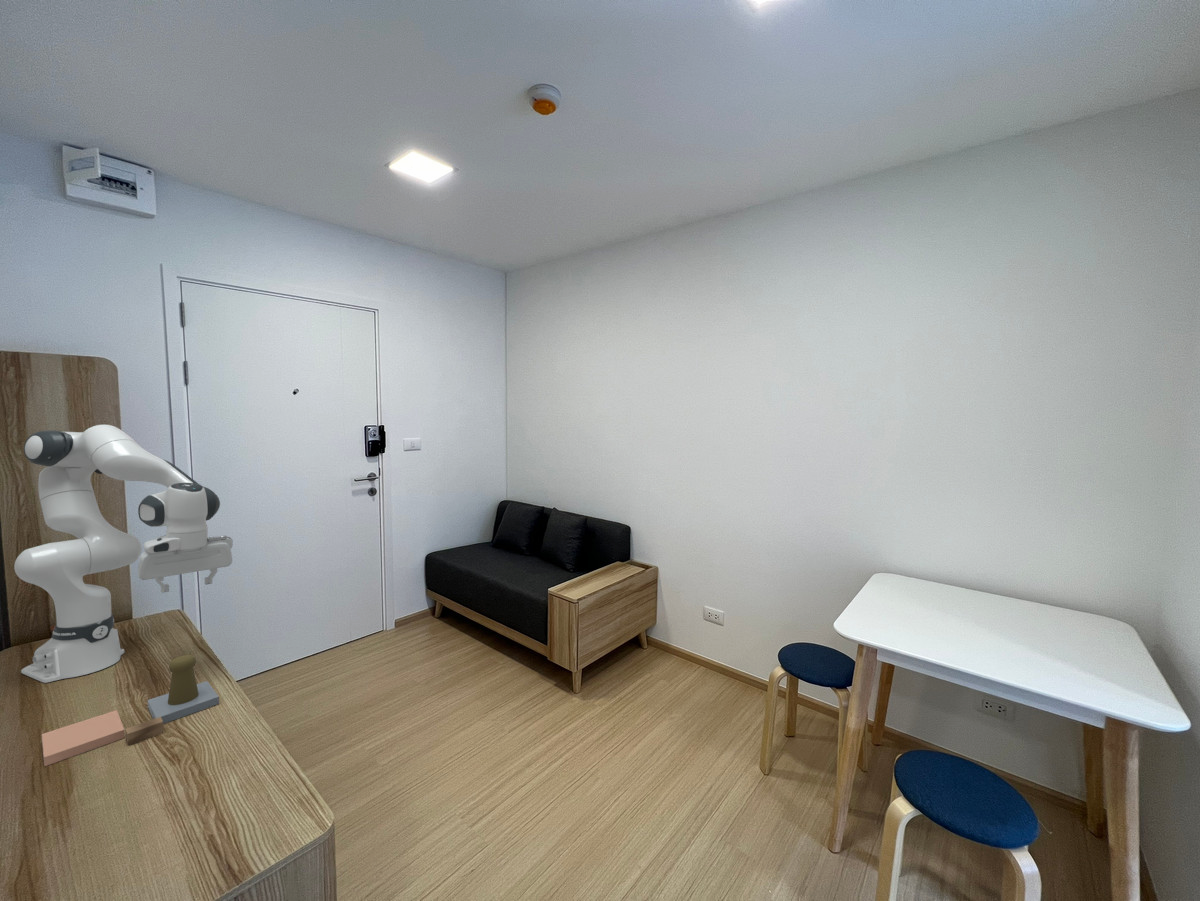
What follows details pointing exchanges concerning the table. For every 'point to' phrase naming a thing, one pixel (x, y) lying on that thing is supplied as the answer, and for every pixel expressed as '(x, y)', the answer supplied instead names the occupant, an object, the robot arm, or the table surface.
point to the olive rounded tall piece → (182, 680)
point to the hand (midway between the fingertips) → (187, 587)
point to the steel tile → (173, 712)
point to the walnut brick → (144, 731)
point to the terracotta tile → (81, 737)
